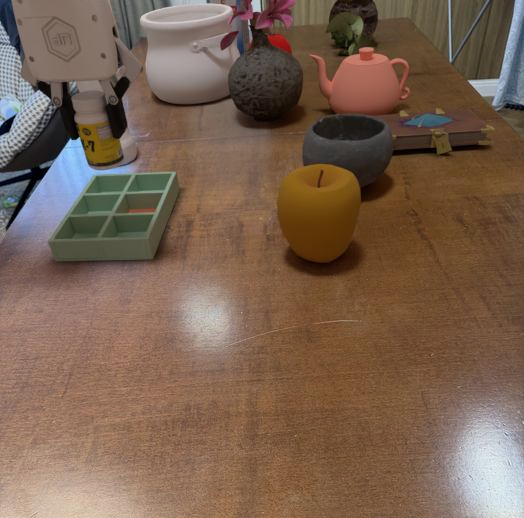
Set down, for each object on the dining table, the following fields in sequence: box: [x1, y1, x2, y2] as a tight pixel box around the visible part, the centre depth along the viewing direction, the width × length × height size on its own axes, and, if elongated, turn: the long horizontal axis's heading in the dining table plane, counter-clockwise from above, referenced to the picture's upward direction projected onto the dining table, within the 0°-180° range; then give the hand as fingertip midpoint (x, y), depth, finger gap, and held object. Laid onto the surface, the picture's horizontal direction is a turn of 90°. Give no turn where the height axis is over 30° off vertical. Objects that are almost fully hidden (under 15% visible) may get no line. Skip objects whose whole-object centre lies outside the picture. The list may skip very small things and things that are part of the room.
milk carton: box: [205, 0, 251, 56], centre depth 146 cm, size 10×6×20 cm, turn 73°
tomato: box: [249, 31, 293, 56], centre depth 135 cm, size 11×13×10 cm
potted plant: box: [325, 0, 379, 57], centre depth 144 cm, size 16×15×35 cm
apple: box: [276, 164, 362, 264], centre depth 68 cm, size 11×11×13 cm
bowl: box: [301, 114, 394, 189], centre depth 85 cm, size 15×15×10 cm
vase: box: [220, 0, 304, 124], centre depth 104 cm, size 17×18×30 cm
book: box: [373, 107, 496, 156], centre depth 98 cm, size 16×25×5 cm, turn 91°
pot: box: [139, 2, 240, 105], centre depth 125 cm, size 26×24×18 cm
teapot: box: [308, 47, 411, 116], centre depth 109 cm, size 22×16×12 cm
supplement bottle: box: [71, 90, 124, 171], centre depth 63 cm, size 5×5×8 cm
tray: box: [47, 171, 181, 262], centre depth 82 cm, size 15×22×4 cm
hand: (98, 133), depth 64 cm, fingers closed on supplement bottle, 4 cm apart
